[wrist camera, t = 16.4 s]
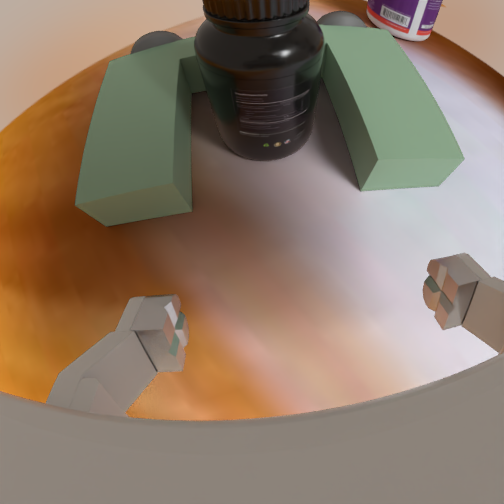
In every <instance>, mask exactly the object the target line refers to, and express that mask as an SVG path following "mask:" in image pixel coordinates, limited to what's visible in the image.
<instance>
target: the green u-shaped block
mask: <svg viewBox="0 0 504 504" xmlns="http://www.w3.org/2000/svg"><path fill="white" fill-rule="evenodd" d="M317 23H318V24H319V26H320V27H321V29H322V32H323V34H324V39H325V43H324V55H323V63H322V70H321V78H323V81H324V83H325V86H326V88H327V91H328V93H329V96H330V99H331V101H332V104H333V107H334V109H335V112H336V115H337V118H338V120H339V123H340V126H341V129H342V132H343V135H344V138H345V141H346V144H347V147H348V150H349V153H350V157H351V160H352V163H353V166H354V170H355V173H356V177H357V180H358V184H359V187H360V191H371V190H384V189H399V188H415V187H434V186H439V185H440V184H441V183H442V182H443V181H444V180H445V179H446V178H447V177H448V176H449V175H450V174H451V173H452V172H453V171H454V170H455V169H456V168H457V167H458V166H459V165H460V163H461V162H462V161H463V160H464V157H463V154H462V152H461V150H460V147H459V145H458V143H457V141H456V139H455V137H454V135H453V133H452V131H451V129H450V127H449V125H448V123H447V121H446V119H445V117H444V115H443V113H442V111H441V109H440V108H439V106H438V104H437V102H436V100H435V99H434V97H433V95H432V94H431V92H430V90H429V89H428V87H427V85H426V84H425V82H424V80H423V79H422V77H421V76H420V74H419V73H418V71H417V70H416V68H415V67H414V65H413V64H412V62H411V61H410V59H409V58H408V56H407V55H406V54H405V52H404V51H403V49H402V48H401V47H400V45H399V44H398V43H397V41H396V40H395V39H394V37H393V36H392V35H391V34H390V32H389V31H388V30H386V29H378V28H369V27H367V26H366V25H365V24H364V23H363V21H362V20H361V19H360V18H359V17H358V16H356V15H355V14H353V13H350V12H346V11H335V12H331V13H328V14H326V15H324V16H322V17H321V18H320V19H319V20H318V21H317ZM194 40H195V37H191V38H186V39H182V38H180V37H179V36H178V35H176V34H174V33H171V32H167V31H155V32H151V33H148V34H146V35H143V36H142V37H141V38H139V39H138V40H137V41H136V42H135V44H134V46H133V48H132V51H131V54H129V55H126V56H123V57H120V58H117V59H114V60H112V61H110V62H109V65H108V68H107V70H106V73H105V76H104V79H103V82H102V85H101V88H100V91H99V95H98V98H97V101H96V105H95V108H94V112H93V115H92V119H91V123H90V127H89V131H88V135H87V139H86V144H85V148H84V153H83V158H82V163H81V168H80V174H79V180H78V186H77V193H76V200H75V206H77V207H78V208H79V209H81V210H82V211H84V212H85V213H87V214H88V215H90V216H91V217H93V218H94V219H96V220H97V221H98V222H100V223H101V224H103V225H104V226H106V227H108V226H113V225H118V224H124V223H129V222H134V221H140V220H145V219H151V218H157V217H163V216H169V215H175V214H181V213H187V212H193V210H192V176H191V97H192V93H196V92H201V91H206V88H205V85H204V82H203V78H202V75H201V72H200V68H199V65H198V62H197V58H196V54H195V50H194Z"/></svg>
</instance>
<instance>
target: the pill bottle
mask: <svg viewBox="0 0 504 504" xmlns="http://www.w3.org/2000/svg"><path fill="white" fill-rule="evenodd" d="M442 1H443V0H368V4H367V10H366V11H367V16H368V17H369V19H370V20H371V21H372V22H373V23H374V24H375V25H376V26H377V27H379V28H380V29H386V30H388V31H389V32H390V34H391V35H393V36H396V37H398V38H402V39H406V40H410V41H423V40H425V39H427V38H428V37H429V36H430V33H431V31H432V28H433V25H434V22H435V20H436V17H437V15H438V12H439V9H440V6H441V3H442Z"/></svg>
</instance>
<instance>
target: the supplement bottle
mask: <svg viewBox="0 0 504 504" xmlns="http://www.w3.org/2000/svg"><path fill="white" fill-rule="evenodd" d="M203 4H204V5H203V10H204V15H205V17H206V20H205V21H204V22H203V23H202V25H201V26H200V28H199V29H198V31H197V33H196V36H195V40H194V50H195V54H196V58H197V62H198V65H199V68H200V72H201V75H202V78H203V82H204V85H205V88H206V92H207V95H208V98H209V102H210V105H211V108H212V112H213V115H214V118H215V122H216V125H217V128H218V131H219V134H220V136H221V138H222V140H223V141H224V143H225V144H226V145H227V146H228V147H229V148H230V149H231V150H232V151H234V152H235V153H237V154H238V155H241V156H243V157H245V158H249V159H253V160H259V161H271V160H277V159H281V158H285V157H287V156H290V155H292V154H293V153H295V152H297V151H298V150H299V149H301V148H302V147H303V146H304V145H305V143H306V142H307V141H308V139H309V137H310V135H311V133H312V129H313V124H314V118H315V112H316V106H317V99H318V92H319V85H320V78H321V70H322V63H323V55H324V43H325V39H324V34H323V32H322V29H321V27H320V26H319V24H318V23H317V22H316V20H315V19H314V18H313V17H312V16H310V15H309V14H308V11H309V0H203Z"/></svg>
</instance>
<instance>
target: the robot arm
mask: <svg viewBox="0 0 504 504" xmlns="http://www.w3.org/2000/svg"><path fill="white" fill-rule="evenodd" d="M427 272H428V274H429V276H428V278H427V279H426V280H425V281H424V286H423V298H424V301H425V303H426V305H427V306H428V308H429V309H431V310H433V311H435V316H434V317H435V319H436V320H437V322H438V323H439V325H440V326H441V328H442V330H446V329H449V328H453V327H457V326H460V325H462V327H464V328H465V329H467V330H468V331H469V332H471V333H472V334H474V335H475V336H476V337H478V338H479V339H481V340H482V341H483V342H485V343H486V344H487V345H489V346H490V347H492V348H493V349H494V350H496V351H497V352H498V353H499V354H498V355H497V356H495V357H493V358H491V359H489V360H487V361H485V362H482V363H480V364H478V365H475V366H473V367H471V368H468V369H466V370H464V371H461V372H459V373H456V374H453V375H451V376H448V377H445V378H443V379H440V380H437V381H434V382H431V383H429V384H426V385H423V386H419V387H416V388H413V389H410V390H407V391H403V392H400V393H396V394H393V395H389V396H385V397H382V398H378V399H374V400H370V401H365V402H361V403H356V404H352V405H347V406H342V407H337V408H332V409H326V410H320V411H314V412H308V413H301V414H293V415H285V416H276V417H266V418H254V419H239V420H213V421H183V420H157V419H142V418H131V417H129V416H128V415H127V414H126V413H125V412H126V411H127V410H128V408H129V407H130V406H131V405H132V404H133V402H134V401H135V400H136V399H137V398H138V396H139V395H140V394H141V393H142V392H143V390H144V389H145V388H146V387H147V386H148V384H149V383H150V382H151V381H152V380H153V378H154V377H155V376H156V375H157V372H173V371H183V367H184V362H185V356H186V354H185V352H184V349H183V348H184V347H185V346H186V345H187V344H188V339H189V327H188V323H187V319H186V316H185V315H184V314H183V313H182V312H180V307H181V303H180V300H179V297H178V296H177V295H176V294H168V295H154V296H141V297H132V298H131V299H129V301H128V304H127V306H126V308H125V310H124V312H123V314H122V317H121V319H120V321H119V323H118V325H117V328H116V330H115V332H110V333H109V334H107V335H106V336H105V337H104V338H102V339H101V340H100V341H98V342H97V343H96V344H95V345H93V346H92V347H91V348H90V349H88V350H87V351H86V352H85V353H83V354H82V355H81V356H80V357H78V358H77V359H76V360H75V361H74V362H72V363H71V364H70V365H69V366H67V367H66V368H65V369H64V370H62V371H61V372H60V373H59V374H58V377H57V379H56V381H55V383H54V385H53V388H52V390H51V392H50V394H49V397H48V399H47V401H46V404H45V403H41V402H37V401H33V400H29V399H26V398H22V397H18V396H15V395H12V394H8V393H5V392H2V391H0V504H504V281H503V280H500V279H498V278H496V277H492V278H491V277H490V276H489V274H488V273H487V272H486V271H485V270H484V269H483V268H482V267H481V266H480V265H479V264H478V263H477V262H476V261H475V260H474V259H473V258H472V257H471V256H470V255H468V254H466V253H460V254H456V255H453V256H449V257H443V258H438V259H433V260H430V262H429V264H428V268H427Z"/></svg>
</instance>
